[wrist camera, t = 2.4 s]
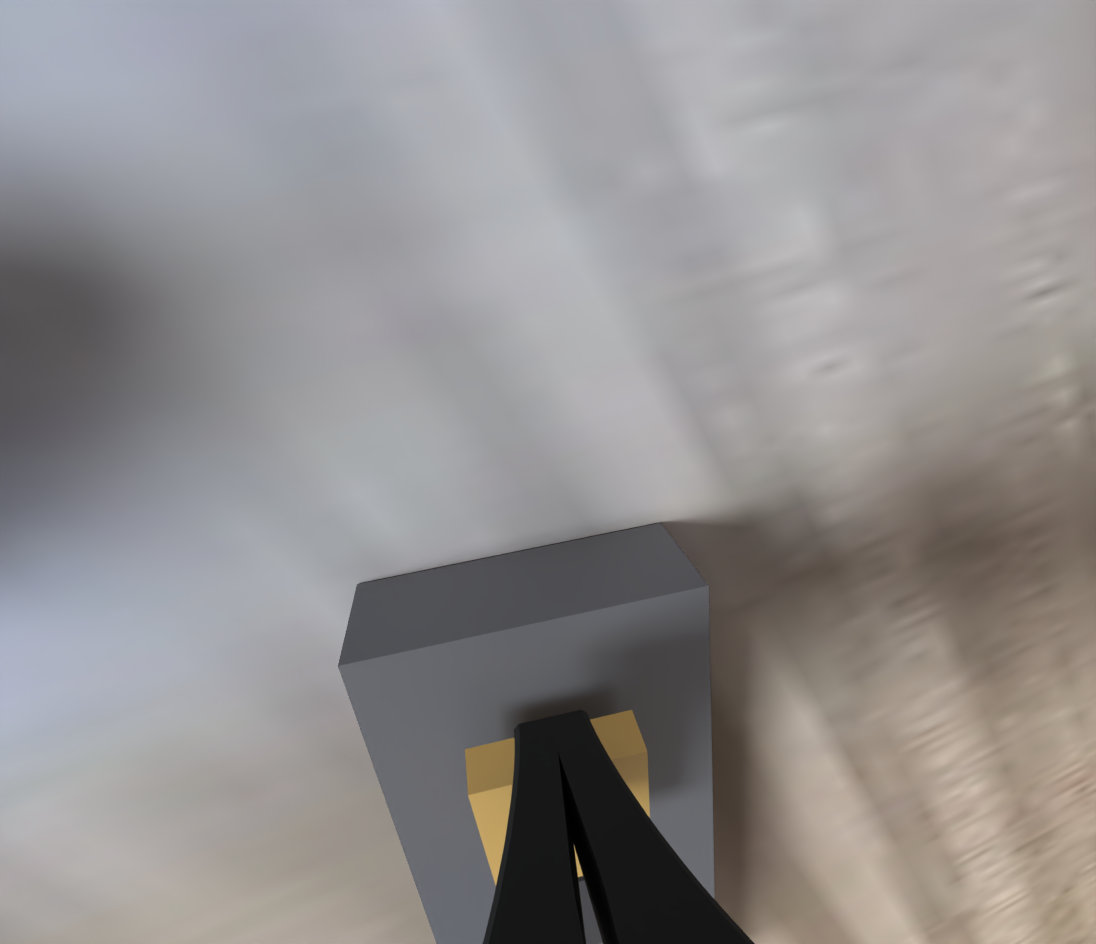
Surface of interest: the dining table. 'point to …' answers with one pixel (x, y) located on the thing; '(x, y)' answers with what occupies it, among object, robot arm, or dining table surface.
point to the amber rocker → (496, 768)
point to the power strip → (530, 693)
